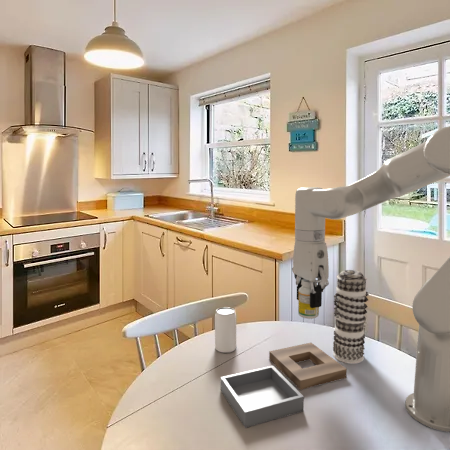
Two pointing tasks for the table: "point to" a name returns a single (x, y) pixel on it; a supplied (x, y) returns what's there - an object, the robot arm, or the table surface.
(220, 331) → the can
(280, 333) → the table surface
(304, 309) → the supplement bottle
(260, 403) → the tray
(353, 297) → the decorative candle
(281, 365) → the brown wooden square frame
